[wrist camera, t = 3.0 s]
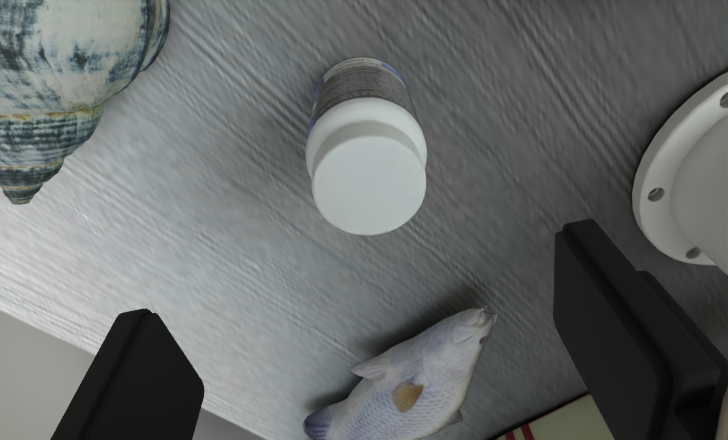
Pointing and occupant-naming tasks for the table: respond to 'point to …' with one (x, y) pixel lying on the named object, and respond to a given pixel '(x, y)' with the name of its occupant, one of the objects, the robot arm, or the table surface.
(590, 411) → the gift box
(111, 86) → the seashell
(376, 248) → the table surface
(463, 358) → the fish
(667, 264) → the table surface
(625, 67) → the table surface
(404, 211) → the pill bottle
